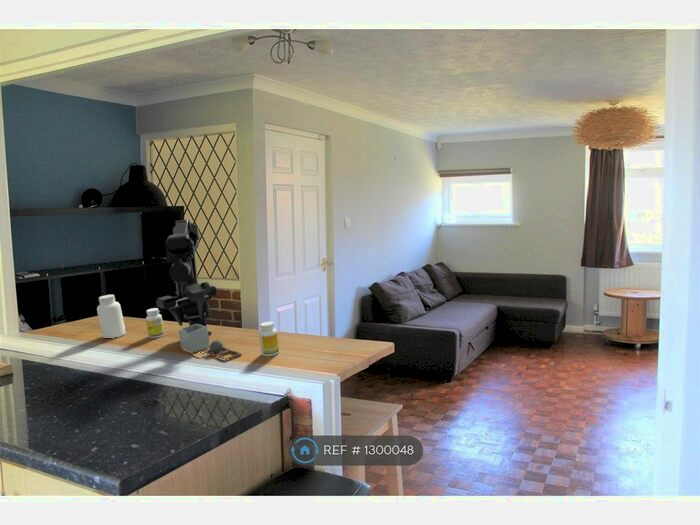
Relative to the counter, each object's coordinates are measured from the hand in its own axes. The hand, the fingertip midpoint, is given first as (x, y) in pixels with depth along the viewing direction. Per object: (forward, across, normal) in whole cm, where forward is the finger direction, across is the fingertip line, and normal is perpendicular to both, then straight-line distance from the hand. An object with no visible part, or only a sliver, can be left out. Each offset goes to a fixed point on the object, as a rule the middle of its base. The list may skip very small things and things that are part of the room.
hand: (191, 322), depth 180 cm
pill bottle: (+9, -10, +42) cm, 44 cm away
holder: (+9, +2, -13) cm, 16 cm away
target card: (+9, -2, -7) cm, 12 cm away
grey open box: (+9, 0, 0) cm, 9 cm away
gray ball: (+9, +2, -10) cm, 14 cm away
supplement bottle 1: (+9, -1, +26) cm, 28 cm away
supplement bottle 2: (+9, +11, -26) cm, 30 cm away
